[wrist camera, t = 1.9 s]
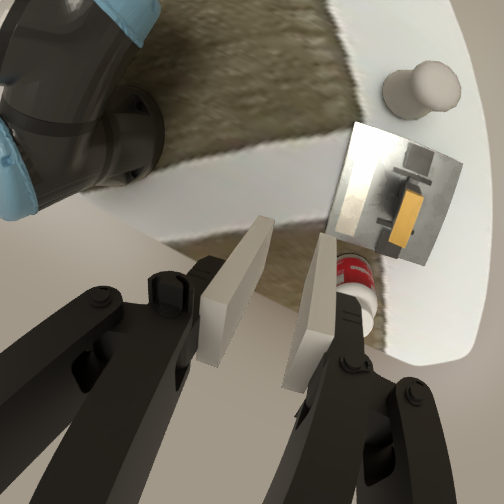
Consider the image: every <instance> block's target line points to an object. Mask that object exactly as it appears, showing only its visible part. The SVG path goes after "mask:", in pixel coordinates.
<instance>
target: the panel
mask: <svg viewBox="0 0 504 504" xmlns="http://www.w3.org/2000/svg"><path fill="white" fill-rule="evenodd" d="M462 166H463V163H460V162H458V161H456V160H454V159H452V158H450V157H448V156H446V155H443V154H441V153H439V152H437V151H434V150H432V149H430V148H427V147H425V146H422V145H420V144H417V143H415V142H412V141H410V140H407V139H405V138H402V137H399V136H397V135H394V134H391V133H388V132H385V131H382V130H379V129H376V128H373V127H370V126H367V125H364V124H361V123H358V122H354V123H353V127H352V131H351V136H350V140H349V144H348V148H347V152H346V156H345V160H344V164H343V167H342V171H341V175H340V179H339V182H338V186H337V190H336V193H335V197H334V200H333V204H332V207H331V211H330V214H329V218H328V221H327V224H326V228H325V234H328V235H331V236H334V237H336V239H338V240H342V241H345V242H348V243H352V244H355V245H358V246H362V247H365V248H368V249H372V250H375V252H376V253H379V254H382V255H386V256H389V257H392V258H395V259H397V258H400V259H404V260H407V261H410V262H413V263H416V264H419V265H422V266H425V264H426V262H427V260H428V257H429V255H430V253H431V251H432V248H433V246H434V244H435V242H436V239H437V237H438V234H439V232H440V229H441V227H442V224H443V222H444V219H445V217H446V214H447V211H448V208H449V206H450V203H451V200H452V197H453V194H454V191H455V188H456V185H457V182H458V179H459V176H460V172H461V169H462ZM409 177H411V178H414V179H416V180H418V181H419V183H418V186H419V187H420V190H421V192H422V195H423V197H424V199H423V202H422V205H421V207H420V210H419V213H418V216H417V218H416V221H415V224H414V226H413V229H412V232H411V234H410V237H409V239H408V242H407V244H406V246H405V248H403V247H400V246H398V245H396V244H393V243H391V242H389V237H390V234H391V229H392V224H393V220H394V217H395V214H396V211H397V209H398V206H399V203H400V200H401V197H402V194H403V191H404V187H405V184H406V181H408V180H409Z"/></svg>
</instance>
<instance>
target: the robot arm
mask: <svg viewBox="0 0 504 504" xmlns="http://www.w3.org/2000/svg"><path fill="white" fill-rule="evenodd" d="M160 12H161V5H160V2H159V1H158V0H0V86H4V90H3V93H2V97H1V101H0V218H2V219H3V220H6V221H17V220H19V219H21V218H24V217H26V216H29V215H35V214H37V213H38V211H40V210H42V209H44V208H46V207H48V206H50V205H52V204H54V203H56V202H58V201H61V200H63V199H65V198H67V197H69V196H71V195H73V194H76V193H78V192H80V191H82V190H85V189H87V188H89V187H92V186H94V185H96V186H113V187H121V186H126V185H129V184H132V183H134V182H137V181H139V180H141V179H143V178H144V177H145V176H147V175H148V174H149V173H150V172H151V171H152V169H153V168H154V167H155V165H156V163H157V162H158V160H159V157H160V155H161V152H162V148H163V143H164V124H163V119H162V115H161V112H160V110H159V108H158V106H157V104H156V102H155V101H154V99H153V98H152V97H151V96H150V95H149V94H148V93H146V92H145V91H143V90H142V89H139V88H136V87H132V86H117V85H118V83H119V81H120V80H121V78H122V76H123V74H124V73H125V71H126V69H127V67H128V66H129V64H130V62H131V61H132V59H133V57H134V56H135V54H136V53H137V51H138V50H139V48H142V47H143V45H144V40H145V38H146V37H147V35H148V34H149V32H150V30H151V29H152V27H153V26H154V24H155V22H156V21H157V19H158V18H159V16H160ZM274 223H275V220H274V219H270V218H266V217H263V216H259V217H258V218H257V219H256V221H255V222H254V223H253V225H252V226H251V227H250V229H249V230H248V232H247V233H246V234H245V236H244V237H243V238H242V240H241V241H240V242H239V244H238V245H237V247H236V248H235V249H234V251H233V252H232V253H231V255H230V256H229V258H228V259H227V260H223V259H220V258H216V257H213V256H210V255H209V256H207V257H205V258H203V259H200V260H199V261H198V262H197V263H196V264H195V265H194V266H193V268H192V269H191V270H190V271H189V272H188V273H187V275H185V274H182V273H180V272H174V271H164V272H159V273H156V274H153V275H152V276H151V277H150V278H148V295H149V303H148V304H146V305H145V304H135V303H128V302H123V299H122V296H121V293H120V292H119V291H118V290H117V289H115V288H113V287H110V286H97V287H93V288H91V289H89V290H87V291H85V292H84V293H83V294H81V295H80V296H78V297H77V298H75V299H74V300H72V301H71V302H69V303H68V304H67V305H65V306H64V307H62V308H61V309H59V310H58V311H57V312H55V313H54V314H52V315H51V316H50V317H48V318H47V319H46V320H44V321H43V322H41V323H40V324H39V325H37V326H36V327H34V328H33V329H32V330H30V331H29V332H28V333H26V334H25V335H24V336H22V337H21V338H20V339H18V340H17V341H16V342H14V343H13V344H12V345H11V346H9V347H8V348H7V349H5V350H4V351H3V352H2V353H0V494H1V493H2V492H3V491H4V490H5V489H6V488H7V487H8V486H9V485H10V484H11V483H12V482H13V481H14V480H15V479H16V478H17V477H18V476H19V475H20V474H21V473H22V472H23V471H24V470H25V469H26V468H27V467H28V466H29V465H30V464H31V463H32V462H33V461H34V459H36V457H38V456H39V455H40V454H41V453H42V452H43V451H44V450H45V448H46V447H47V446H48V445H49V444H50V443H51V442H52V441H53V440H54V439H55V438H56V437H57V436H58V435H59V434H60V433H61V432H62V431H63V430H64V429H65V428H66V427H67V426H68V425H69V424H70V423H71V422H72V423H71V425H70V427H69V428H68V430H67V432H66V434H65V435H64V437H63V439H62V441H61V442H60V444H59V446H58V448H57V450H56V452H55V453H54V455H53V457H52V459H51V461H50V463H49V464H48V467H47V468H46V471H45V472H44V474H43V476H42V478H41V480H40V482H39V484H38V486H37V488H36V490H35V492H34V494H33V496H32V498H31V500H30V503H29V504H138V503H139V500H140V497H141V495H142V492H143V489H144V487H145V484H146V481H147V479H148V476H149V473H150V471H151V468H152V466H153V463H154V460H155V458H156V455H157V453H158V450H159V448H160V445H161V442H162V440H163V437H164V435H165V432H166V430H167V427H168V424H169V422H170V419H171V417H172V414H173V412H174V409H175V407H176V404H177V401H178V399H179V397H180V394H181V391H182V388H183V386H184V384H185V381H186V379H187V376H188V374H189V371H190V363H191V359H192V358H193V356H194V354H195V352H197V353H196V360H197V361H200V362H203V363H205V364H208V365H211V366H214V367H217V368H218V366H219V364H220V362H221V360H222V358H223V355H224V354H225V351H226V349H227V347H228V345H229V343H230V341H231V339H232V337H233V335H234V333H235V330H236V328H237V326H238V324H239V322H240V320H241V318H242V316H243V313H244V311H245V309H246V307H247V305H248V303H249V301H250V298H251V296H252V294H253V292H254V290H255V288H256V286H257V283H258V281H259V279H260V277H261V275H262V273H263V270H264V267H265V262H266V258H267V254H268V249H269V245H270V240H271V236H272V232H273V227H274ZM336 271H337V250H336V237H334V236H331V235H328V234H324V233H321V232H320V236H319V239H318V242H317V245H316V249H315V252H314V255H313V258H312V262H311V265H310V268H309V271H308V274H307V277H306V280H305V284H304V289H303V294H302V299H301V304H300V309H299V314H298V318H297V323H296V327H295V332H294V337H293V341H292V345H291V349H290V354H289V358H288V362H287V366H286V370H285V375H284V379H283V383H282V386H281V388H284V389H288V390H292V391H295V392H299V393H304V392H305V390H306V389H307V387H308V390H307V396H306V399H305V400H304V402H303V404H302V405H301V407H300V409H299V410H298V412H297V413H296V415H295V416H294V417H296V418H297V419H296V422H295V425H294V428H293V430H292V433H291V436H290V438H289V441H288V444H287V446H286V449H285V451H284V454H283V457H282V459H281V461H280V464H279V467H278V469H277V471H276V474H275V476H274V478H273V481H272V483H271V485H270V488H269V490H268V492H267V494H266V497H265V499H264V501H263V503H262V504H351V503H352V499H353V495H354V491H355V487H356V492H357V493H356V494H357V504H457V501H456V494H455V487H454V481H453V475H452V470H451V465H450V460H449V455H448V450H447V446H446V442H445V438H444V433H443V429H442V425H441V422H440V418H439V414H438V411H437V408H436V404H435V401H434V397H433V395H432V392H431V390H430V388H429V387H428V386H427V385H426V384H425V383H424V382H423V381H421V380H419V379H417V378H413V377H405V378H403V379H401V380H400V381H399V382H398V383H397V384H395V383H393V382H391V381H389V380H387V379H385V378H383V377H381V376H380V375H378V374H376V373H375V372H374V371H373V364H372V362H371V360H370V359H369V357H368V356H367V355H366V354H364V335H363V325H362V324H363V320H362V308H361V305H360V303H359V301H358V300H357V298H356V297H355V296H352V295H348V294H344V293H341V292H337V291H336Z"/></svg>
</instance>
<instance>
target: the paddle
mask: <svg viewBox="0 0 504 504" xmlns="http://www.w3.org/2000/svg"><path fill="white" fill-rule="evenodd" d="M418 183H419V181H418V180H416V179H414V178H411V177H409V180H408V181H406V184H405V187H404V191H403V194H402V197H401V200H400V203H399V206H398V209H397V211H396V214H395V217H394V220H393V224H392V229H391V234H390V237H389V242H391V243H393V244H396V245H398V246H400V247H403V248H405V246H406V244H407V242H408V239H409V237H410V234H411V232H412V229H413V226H414V224H415V221H416V218H417V216H418V213H419V210H420V207H421V205H422V202H423V199H424V197H423V195H422V192H421V190H420V187H419V186H418Z"/></svg>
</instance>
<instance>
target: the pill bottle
mask: <svg viewBox="0 0 504 504" xmlns="http://www.w3.org/2000/svg"><path fill="white" fill-rule="evenodd" d="M336 291H337V292H341V293H344V294H348V295H352V296H355V297H356V298H357V300H358V301H359V303H360V305H361V308H362V320H363V324H362V325H363V335H364V337H365V336H367V335H368V334H369V333H370V331H371V330H372V328H373V318H374V316H375V314H376V311H377V297H376V291H375V286H374V280H373V275H372V270H371V267H370V265H369V263H368V262H367V261H366V260H365V259H364V258H362V257H361V256H358V255H355V254H345V255H342V256H339V257H338V258H337V271H336Z"/></svg>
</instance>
